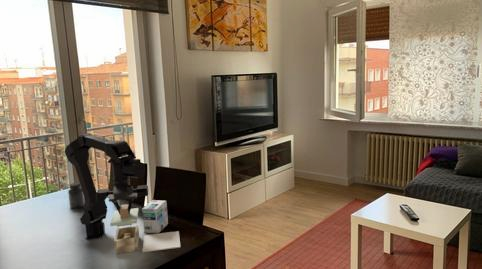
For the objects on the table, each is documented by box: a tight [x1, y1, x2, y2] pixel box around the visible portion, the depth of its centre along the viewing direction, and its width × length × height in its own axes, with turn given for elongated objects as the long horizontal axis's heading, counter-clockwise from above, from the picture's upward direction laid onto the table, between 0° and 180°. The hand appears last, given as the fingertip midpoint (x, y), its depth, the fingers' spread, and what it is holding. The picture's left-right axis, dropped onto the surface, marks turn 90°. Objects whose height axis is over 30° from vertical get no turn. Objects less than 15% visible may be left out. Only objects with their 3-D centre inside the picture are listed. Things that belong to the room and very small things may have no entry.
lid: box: [109, 204, 139, 228], centre depth 141 cm, size 9×13×6 cm
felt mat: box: [142, 230, 182, 253], centre depth 145 cm, size 14×14×1 cm
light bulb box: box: [141, 199, 169, 234], centre depth 157 cm, size 11×7×11 cm, turn 168°
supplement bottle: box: [67, 182, 85, 210], centre depth 186 cm, size 7×7×12 cm
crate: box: [113, 224, 140, 254], centre depth 143 cm, size 8×12×5 cm, turn 12°
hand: (124, 214), depth 141 cm, fingers closed on lid, 3 cm apart
